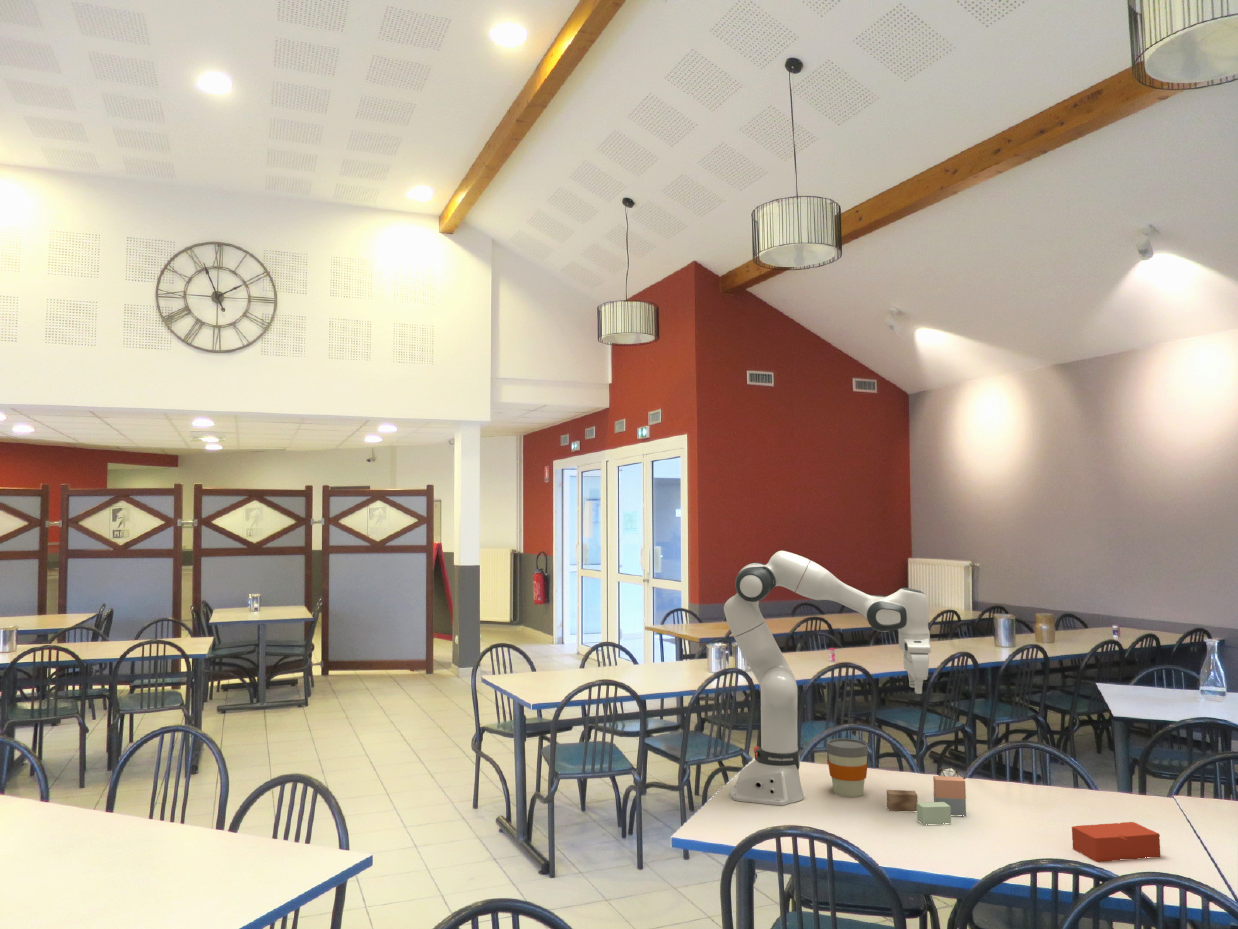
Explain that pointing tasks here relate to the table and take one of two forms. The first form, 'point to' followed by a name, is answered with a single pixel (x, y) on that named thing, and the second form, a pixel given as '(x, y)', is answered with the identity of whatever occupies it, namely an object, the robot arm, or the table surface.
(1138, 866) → the table surface
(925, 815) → the sage block
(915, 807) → the walnut block
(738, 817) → the table surface
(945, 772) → the game die
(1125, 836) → the brick
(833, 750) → the reusable coffee cup
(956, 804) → the slate block
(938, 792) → the terracotta block
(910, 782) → the table surface
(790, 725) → the robot arm
